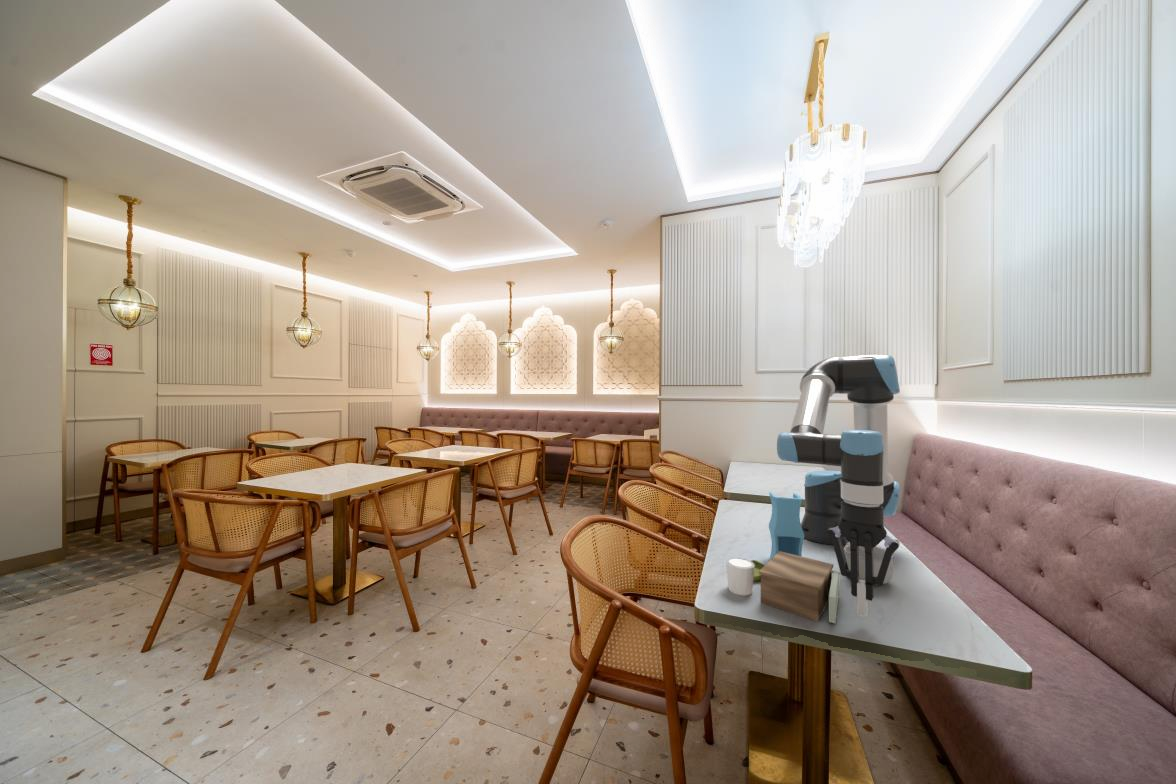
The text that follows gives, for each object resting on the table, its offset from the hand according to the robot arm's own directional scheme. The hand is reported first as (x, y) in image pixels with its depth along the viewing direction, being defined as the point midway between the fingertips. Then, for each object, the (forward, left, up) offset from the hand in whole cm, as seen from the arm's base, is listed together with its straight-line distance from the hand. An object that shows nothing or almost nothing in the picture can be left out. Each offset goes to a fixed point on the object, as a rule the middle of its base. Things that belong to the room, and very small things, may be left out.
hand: (862, 612), depth 84 cm
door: (-4, -6, -3) cm, 8 cm away
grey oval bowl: (-29, -3, -3) cm, 29 cm away
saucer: (-11, -26, -4) cm, 29 cm away
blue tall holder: (-25, -22, -3) cm, 33 cm away
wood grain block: (-4, -14, -3) cm, 15 cm away
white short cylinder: (+1, -26, -3) cm, 26 cm away
